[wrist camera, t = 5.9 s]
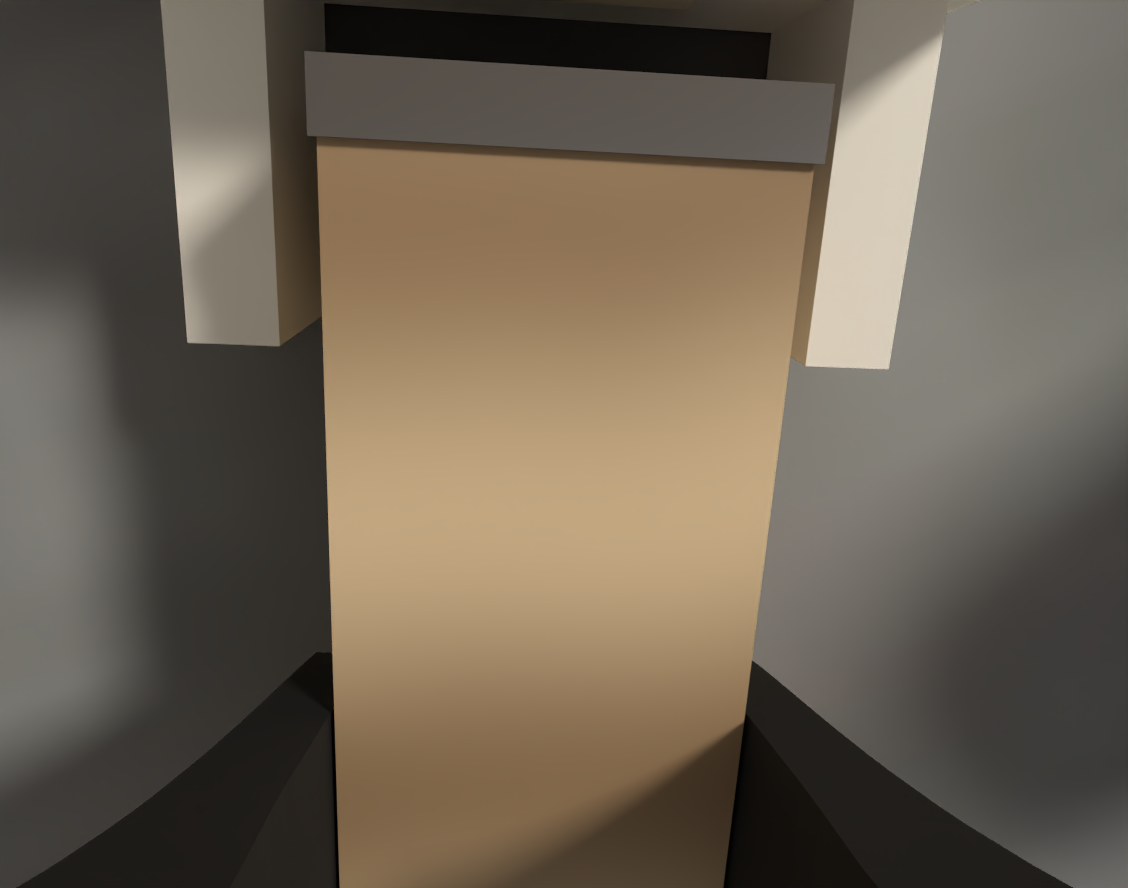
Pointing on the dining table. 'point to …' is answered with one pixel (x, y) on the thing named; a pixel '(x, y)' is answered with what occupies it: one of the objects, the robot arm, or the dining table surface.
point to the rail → (550, 456)
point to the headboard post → (742, 3)
